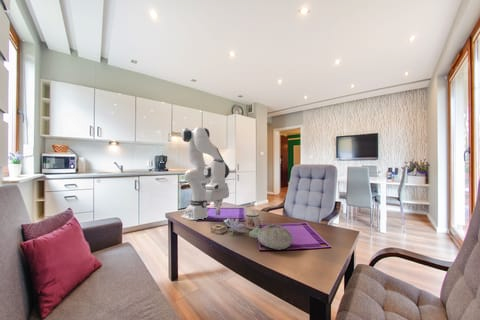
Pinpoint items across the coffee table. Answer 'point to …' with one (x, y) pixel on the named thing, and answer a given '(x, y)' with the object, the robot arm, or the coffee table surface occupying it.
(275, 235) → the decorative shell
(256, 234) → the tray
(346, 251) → the coffee table surface
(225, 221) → the pulley
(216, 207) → the lock pin
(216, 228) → the tensioner block
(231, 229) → the water lily
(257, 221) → the teacup with lid
